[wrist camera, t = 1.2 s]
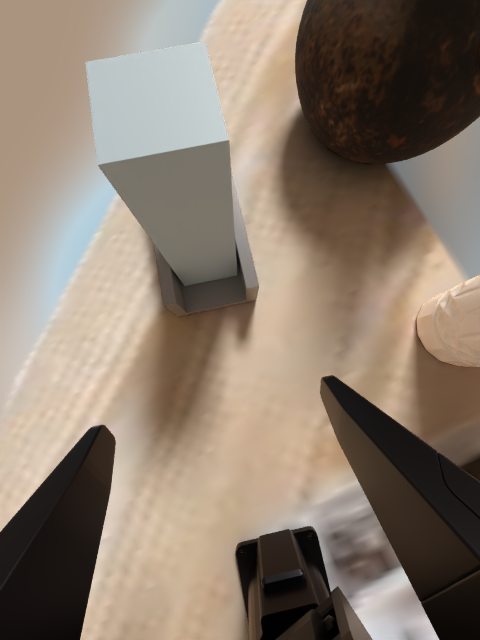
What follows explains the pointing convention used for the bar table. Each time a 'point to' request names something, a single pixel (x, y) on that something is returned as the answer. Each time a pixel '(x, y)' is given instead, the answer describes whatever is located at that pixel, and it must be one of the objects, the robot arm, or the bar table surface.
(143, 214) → the block
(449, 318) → the white cup
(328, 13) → the dark brown round-bodied bottle
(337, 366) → the bar table surface
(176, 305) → the chute
